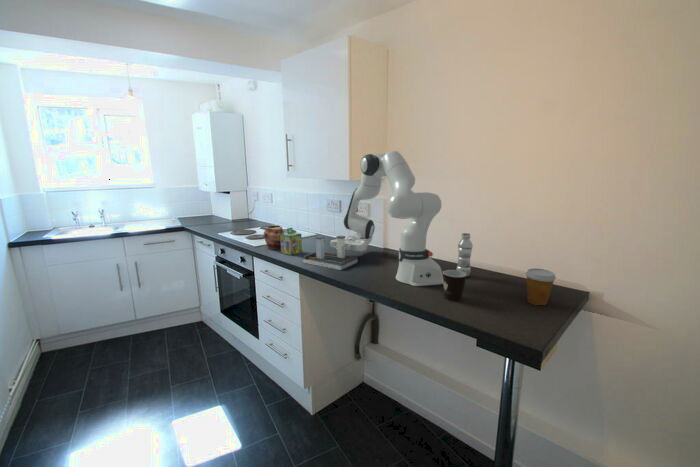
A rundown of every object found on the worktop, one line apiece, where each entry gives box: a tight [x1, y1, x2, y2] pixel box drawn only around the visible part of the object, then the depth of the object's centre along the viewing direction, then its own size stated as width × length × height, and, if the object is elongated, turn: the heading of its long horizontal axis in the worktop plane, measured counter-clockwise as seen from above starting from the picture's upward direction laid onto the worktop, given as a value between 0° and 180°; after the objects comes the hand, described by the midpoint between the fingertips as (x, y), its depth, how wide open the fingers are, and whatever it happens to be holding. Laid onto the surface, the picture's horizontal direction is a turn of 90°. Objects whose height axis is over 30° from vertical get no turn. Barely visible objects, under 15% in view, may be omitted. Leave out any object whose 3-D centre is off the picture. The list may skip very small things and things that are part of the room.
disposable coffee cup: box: [525, 268, 557, 306], centre depth 118 cm, size 10×10×12 cm
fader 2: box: [336, 235, 346, 258], centre depth 168 cm, size 3×3×12 cm
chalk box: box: [280, 227, 303, 256], centre depth 186 cm, size 9×9×15 cm
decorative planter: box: [263, 224, 285, 250], centre depth 199 cm, size 20×12×14 cm, turn 43°
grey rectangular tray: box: [302, 251, 359, 271], centre depth 168 cm, size 24×16×4 cm, turn 58°
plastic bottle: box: [455, 232, 474, 278], centre depth 146 cm, size 6×7×20 cm
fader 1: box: [314, 235, 326, 259], centre depth 166 cm, size 3×3×12 cm
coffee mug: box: [442, 269, 467, 302], centre depth 123 cm, size 12×9×10 cm
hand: (340, 247), depth 167 cm, fingers closed on fader 2, 3 cm apart
